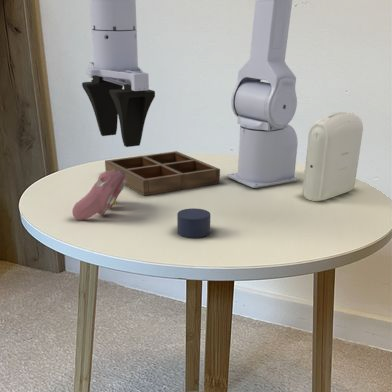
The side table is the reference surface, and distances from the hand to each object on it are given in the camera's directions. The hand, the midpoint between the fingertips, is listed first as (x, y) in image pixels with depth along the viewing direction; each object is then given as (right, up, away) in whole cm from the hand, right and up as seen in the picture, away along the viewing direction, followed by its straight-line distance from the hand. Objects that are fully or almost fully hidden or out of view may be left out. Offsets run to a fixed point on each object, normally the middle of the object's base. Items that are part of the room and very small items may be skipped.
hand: (119, 140), depth 83 cm
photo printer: (+32, -4, +13) cm, 35 cm away
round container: (+10, -13, -2) cm, 17 cm away
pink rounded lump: (-3, -9, +5) cm, 11 cm away
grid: (+5, 0, +20) cm, 20 cm away
